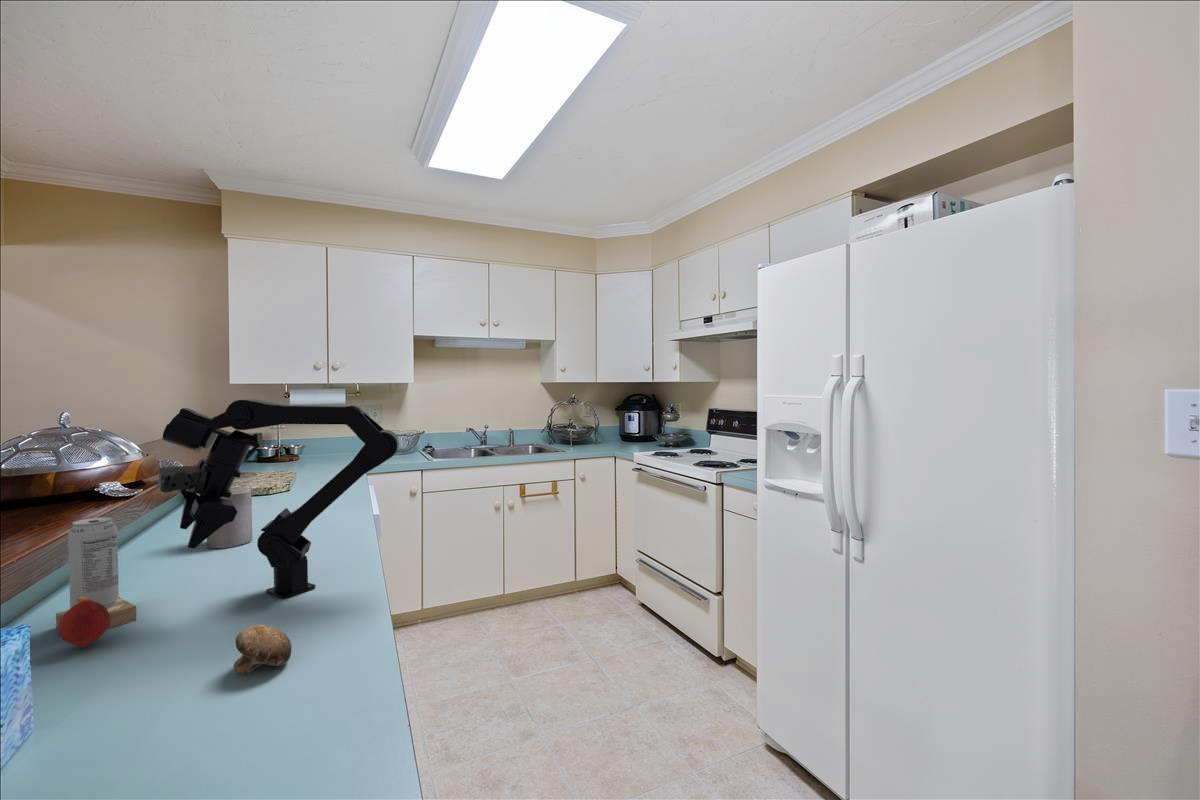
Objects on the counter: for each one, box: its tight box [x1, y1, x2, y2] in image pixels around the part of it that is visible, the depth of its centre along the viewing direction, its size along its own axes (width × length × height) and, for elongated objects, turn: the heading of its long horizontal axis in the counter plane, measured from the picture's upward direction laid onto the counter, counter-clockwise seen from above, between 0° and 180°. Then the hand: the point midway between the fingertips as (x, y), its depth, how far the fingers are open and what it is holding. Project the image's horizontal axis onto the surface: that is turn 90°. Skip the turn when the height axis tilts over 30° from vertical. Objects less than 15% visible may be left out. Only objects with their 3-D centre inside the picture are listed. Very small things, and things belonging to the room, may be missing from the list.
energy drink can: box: [67, 516, 120, 609], centre depth 90 cm, size 6×6×15 cm
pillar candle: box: [206, 486, 253, 549], centre depth 136 cm, size 10×10×15 cm
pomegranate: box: [57, 597, 111, 649], centre depth 82 cm, size 6×6×8 cm
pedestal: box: [55, 597, 137, 630], centre depth 90 cm, size 8×8×3 cm
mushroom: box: [233, 624, 292, 675], centre depth 77 cm, size 8×8×6 cm
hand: (186, 537), depth 99 cm, fingers open, 9 cm apart
